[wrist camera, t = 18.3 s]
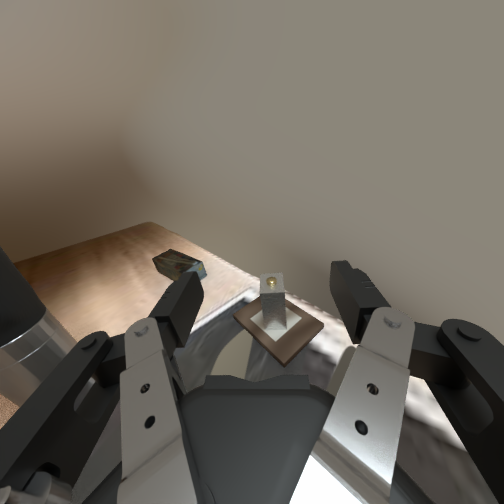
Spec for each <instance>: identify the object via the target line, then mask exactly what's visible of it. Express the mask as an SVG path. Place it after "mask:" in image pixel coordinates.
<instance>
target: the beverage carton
mask: <svg viewBox="0 0 504 504" xmlns="http://www.w3.org/2000/svg"><path fill="white" fill-rule="evenodd" d="M152 260H153V262H154V264H155V266H156V268H157V270H158V272H160V273H161V274H163V275H165V276H167V277H169V278H170V279H172V280H174V281H176V280H178V279H179V277H180V276H181V274H182V273H183V272H189V271H196V272H197V273H198V276H199V279H200V280H201V279H203V278H204V277H206V276H207V274H206V271H205V268H204V265H203V262H202V261H199V260H197V259H195V258H192V257H190V256H187V255H185V254H183V253H180V252H178V251H175V250H172V249H169V250H168V251H166V252H164V253H162V254H160V255H158V256H156V257H154V258H152Z"/></svg>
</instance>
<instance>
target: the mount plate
mask: <svg viewBox="0 0 504 504" xmlns="http://www.w3.org/2000/svg"><path fill="white" fill-rule="evenodd" d="M285 306H286V321H287V330H265V326H264V319H263V313H262V306H261V299H260V296H259V297H258V298H256V299H255V300H253V301H252V302H250V303H249V304H248V305H246V306H245V307H243V308H242V309H240V310H239V311H237V312H236V313H234V314H233V317H234V319H235V320H236V321H237V322H238V323H239V324H240V325H241V326H242V327H243V328H244V329H246V330H247V331H248V332H249V333H250V334H251V335H252V336H253V337H254V338H255V339H256V340H257V341H258V342H259V343H260V344H261V345H262V346H263V347H264V348H265V349H266V350H267V351H268V352H269V353H270V354H271V355H272V356H273V357H274V358H275V359H276V360H277V361H278V362H279V363H280V364H281V365H282V366H283V367H284V368H285V366H286V365H287V364H288V363H289V362H290V361H291V360H292V359H293V358H294V357H295V356H296V355H297V354H298V353H299V352H300V351H301V350H302V349H303V348H304V347H305V346H306V345H307V344H308V343H309V342H310V341H311V340H312V339H313V338H314V337H315V336H316V335H317V334H318V333H319V332H320V331H321V330H322V329H323V328H324V323H322V322H321V321H319V320H318V319H316V318H315V317H313V316H311V315H310V314H308V313H307V312H305V311H304V310H302V309H300V308H299V307H297V306H296V305H294V304H292V303H291V302H289V301H288V300H286V299H285Z"/></svg>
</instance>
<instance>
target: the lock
mask: <svg viewBox="0 0 504 504" xmlns="http://www.w3.org/2000/svg"><path fill="white" fill-rule="evenodd" d="M260 299H261V306H262V313H263V319H264V326H265V330H287V321H286V306H285V291H284V283H283V275H282V273H270V274H261V275H260Z"/></svg>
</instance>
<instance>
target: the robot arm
mask: <svg viewBox="0 0 504 504" xmlns="http://www.w3.org/2000/svg"><path fill="white" fill-rule="evenodd" d="M330 291H331V294H332V297H333V299H334V301H335V304H336V306H337V308H338V310H339V313H340V315H341V318H342V320H343V322H344V325H345V327H346V329H347V332H348V334H349V336H350V338H351V341H352V343H353V344H360V345H358V346H357V348H356V350H355V353H354V355H353V358H352V360H351V362H350V365H349V367H348V370H347V372H346V374H345V377H344V379H343V382H342V384H341V386H340V389H339V391H338V394H337V396H336V397H335V396H333V395H332V394H330V393H329V392H328V391H326V390H324V389H322V388H320V387H318V386H315V385H313V384H309V379H308V375H280V376H277V377H273V378H270V379H266V380H263V381H260V382H251V381H248V380H244V379H241V378H237V377H234V376H231V375H206V379H205V383H204V385H201V386H198V387H196V388H194V389H193V390H191V391H189V392H188V393H187V391H186V388H185V386H184V383H183V380H182V377H181V373H180V370H179V367H178V364H177V361H176V358H175V355H174V351H175V348H183V347H185V344H186V342H187V339H188V337H189V334H190V332H191V329H192V327H193V324H194V322H195V319H196V317H197V314H198V312H199V309H200V307H201V304H202V302H203V298H204V291H203V288H202V285H201V282H200V279H199V276H198V273H197V272H196V271H189V272H183V273H182V274H181V276H180V277H179V279H178V280H176V281H174V282H173V283H172V284H171V285H169V286H168V288H167V289H166V291H165V292H164V294H163V295H162V297H161V299H160V300H159V301H158V303H157V304H156V306H155V307H154V308H153V310H152V311H151V313H150V314H149V316H148V317H147V318H143V319H141V320H139V321H137V322H135V323H134V324H132V325H131V326H130V327H129V328H128V330H127V331H126V333H123V334H120V335H117V336H113V337H109V336H108V334H107V333H106V332H104V331H98V332H94V333H92V334H89V335H88V336H86V337H84V338H83V339H81V340H80V341H79V342H78V343H77V341H76V340H75V339H74V338H73V337H72V336H71V335H70V334H69V332H68V331H67V330H66V329H65V328H64V327H63V326H62V325H61V323H60V322H59V321H58V320H57V319H56V318H55V317H54V316H53V315H52V313H51V312H50V311H49V310H48V309H47V308H46V307H45V305H44V304H43V303H42V302H41V301H40V299H39V298H38V296H37V295H36V293H35V291H34V290H33V288H32V287H31V286H30V284H29V283H28V282H27V281H26V279H25V278H24V277H23V276H22V275H21V273H20V272H19V271H18V269H17V268H16V267H15V266H14V264H13V263H12V262H11V260H10V259H9V258H8V256H7V255H6V253H5V252H4V251H3V249H2V248H1V247H0V394H1V395H3V396H4V397H6V398H7V399H9V400H10V401H12V402H13V403H15V404H16V405H18V406H19V407H20V408H19V409H18V410H17V411H16V413H15V414H14V415H13V416H12V417H11V418H10V419H9V420H8V422H7V423H6V424H5V425H4V426H3V427H2V428H1V430H0V504H71V500H72V489H73V487H74V485H75V483H76V481H77V479H78V477H79V476H80V474H81V472H82V470H83V468H84V466H85V464H86V462H87V460H88V458H89V456H90V455H91V453H92V451H93V449H94V447H95V445H96V443H97V441H98V439H99V437H100V435H101V434H102V432H103V430H104V428H105V426H106V424H107V422H108V420H109V418H110V416H111V414H112V413H113V411H114V409H115V407H116V405H117V403H118V401H119V399H120V403H121V439H122V461H121V462H120V463H119V464H118V465H117V466H116V467H115V468H114V469H113V470H112V472H111V473H110V474H109V475H108V476H107V477H106V478H105V479H104V480H103V481H102V482H101V483H100V484H99V485H98V487H97V488H96V489H95V490H94V491H93V492H92V493H91V494H90V495H89V496H88V497H87V498H86V499H85V500H84V501H83V503H82V504H435V502H434V501H433V500H432V499H431V498H430V497H429V496H428V495H427V494H426V493H425V492H424V491H423V490H422V488H421V487H420V486H419V485H418V484H417V483H416V482H415V481H414V480H413V479H412V478H411V477H410V476H409V474H408V473H407V472H406V471H405V470H404V469H403V468H402V467H401V466H400V465H399V464H398V463H397V462H396V460H395V459H396V453H397V447H398V441H399V435H400V429H401V423H402V418H403V412H404V406H405V400H406V394H407V388H408V382H409V376H414V377H417V378H421V379H424V380H425V382H426V383H427V385H428V387H429V388H430V390H431V392H432V393H433V395H434V397H435V398H436V400H437V402H438V403H439V405H440V407H441V408H442V410H443V412H444V413H445V415H446V417H447V418H448V420H449V422H450V423H451V425H452V427H453V428H454V430H455V431H456V433H457V435H458V436H459V438H460V440H461V441H462V443H463V445H464V446H465V448H466V450H467V451H468V453H469V455H470V456H471V458H472V460H473V461H474V463H475V465H476V466H477V468H478V470H479V471H480V473H481V475H482V476H483V478H484V479H485V481H486V483H487V484H488V486H489V488H490V489H491V491H492V493H493V494H494V496H495V498H496V499H497V501H498V503H499V504H504V346H503V345H502V344H501V343H500V342H499V341H498V340H497V339H496V338H495V337H494V336H492V335H491V334H490V333H489V332H488V331H486V330H485V329H483V328H481V327H479V326H477V325H475V324H473V323H470V322H467V321H464V320H458V319H448V320H446V321H444V322H443V323H442V325H441V327H437V326H432V325H427V324H422V323H417V322H413V320H412V319H411V318H410V317H409V316H408V315H407V314H405V313H404V312H402V311H400V310H397V309H395V308H392V307H391V306H390V305H389V304H388V302H387V301H386V300H385V298H384V297H383V296H382V294H381V293H380V292H379V290H378V289H377V288H376V287H375V285H374V284H373V283H372V282H371V280H370V278H369V277H368V276H367V275H366V274H365V273H364V272H362V271H361V270H359V269H352V267H351V266H350V264H349V263H348V261H346V260H344V261H332V263H331V271H330Z"/></svg>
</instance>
